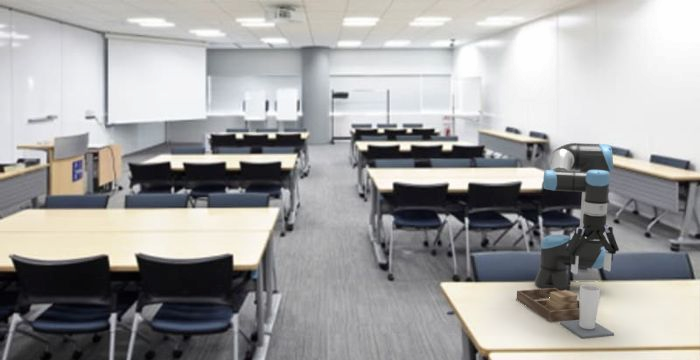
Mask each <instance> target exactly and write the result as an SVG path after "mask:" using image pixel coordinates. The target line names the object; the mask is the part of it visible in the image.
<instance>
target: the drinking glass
mask: <svg viewBox="0 0 700 360" xmlns="http://www.w3.org/2000/svg"><path fill="white" fill-rule="evenodd" d="M600 290H601V289H600V287H598V286H595V285H590V284H582V285H580V286H579V292H578V294H579V295H578V301H579V319H578V320H579V326H580V327H581V328H583V329H588V330H592V329H594V328H595V322H596V320H597V314H598V309H599V303H600V298H601V297H600V296H601V291H600ZM596 323H597V322H596Z"/></svg>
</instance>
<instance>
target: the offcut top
mask: <svg viewBox="0 0 700 360" xmlns="http://www.w3.org/2000/svg"><path fill="white" fill-rule="evenodd" d="M548 299H549V300H551V301H553V302H555V303H557V304H559V305H563V304H570V303H577V300H578V294H575V293H574V292H572V291H570V290H568V291H567V290H563V291H556V292H550V298H548Z"/></svg>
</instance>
